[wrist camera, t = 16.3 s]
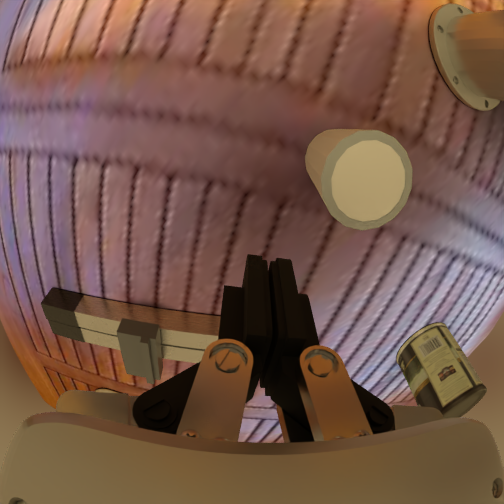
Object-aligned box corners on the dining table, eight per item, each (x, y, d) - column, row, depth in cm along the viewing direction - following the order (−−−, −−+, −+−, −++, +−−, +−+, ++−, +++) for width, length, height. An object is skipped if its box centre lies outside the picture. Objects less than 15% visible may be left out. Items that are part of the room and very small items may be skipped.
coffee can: (413, 369, 40) (441, 431, 28) (384, 358, 37) (416, 433, 24) (454, 331, 36) (492, 391, 24) (433, 313, 33) (479, 386, 20)
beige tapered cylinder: (377, 184, 23) (418, 214, 17) (310, 207, 24) (334, 244, 18) (360, 113, 20) (404, 120, 14) (286, 134, 21) (307, 146, 15)
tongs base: (283, 326, 31) (287, 346, 28) (274, 351, 33) (277, 370, 31) (54, 291, 27) (43, 307, 25) (62, 317, 30) (53, 333, 27)
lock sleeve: (159, 324, 25) (154, 344, 23) (162, 366, 29) (159, 385, 27) (122, 318, 25) (114, 337, 23) (130, 360, 28) (125, 378, 26)
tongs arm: (243, 318, 30) (244, 338, 27) (240, 333, 31) (240, 353, 28) (52, 287, 27) (40, 303, 24) (56, 303, 28) (46, 318, 25)
